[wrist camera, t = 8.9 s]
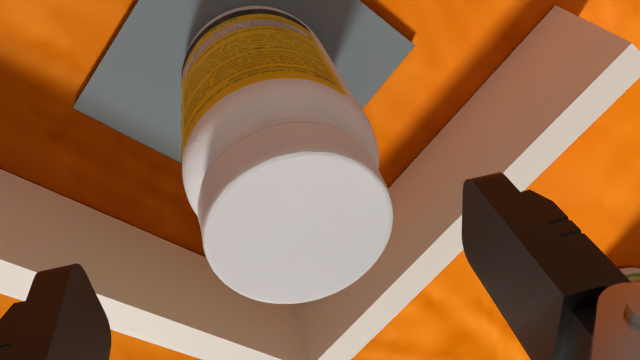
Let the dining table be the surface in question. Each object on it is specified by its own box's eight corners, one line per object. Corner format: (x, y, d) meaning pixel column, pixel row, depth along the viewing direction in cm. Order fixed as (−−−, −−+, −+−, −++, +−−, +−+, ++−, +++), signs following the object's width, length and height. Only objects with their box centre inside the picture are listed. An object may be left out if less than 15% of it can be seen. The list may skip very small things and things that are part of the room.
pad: (412, 42, 19) (414, 45, 19) (274, 207, 21) (276, 211, 21) (212, -121, 15) (212, -120, 15) (74, 104, 18) (72, 107, 17)
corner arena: (574, 24, 20) (651, 65, 16) (296, 320, 25) (313, 395, 22) (155, -416, 12) (143, -507, 9) (-120, 152, 17) (-192, 230, 14)
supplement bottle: (148, 70, 17) (125, 236, 10) (263, -31, 16) (322, 77, 9) (250, 164, 20) (285, 348, 13) (354, 82, 19) (452, 232, 12)
